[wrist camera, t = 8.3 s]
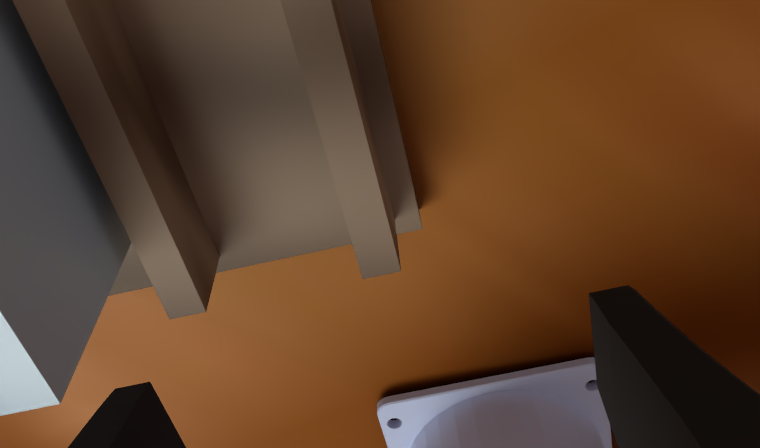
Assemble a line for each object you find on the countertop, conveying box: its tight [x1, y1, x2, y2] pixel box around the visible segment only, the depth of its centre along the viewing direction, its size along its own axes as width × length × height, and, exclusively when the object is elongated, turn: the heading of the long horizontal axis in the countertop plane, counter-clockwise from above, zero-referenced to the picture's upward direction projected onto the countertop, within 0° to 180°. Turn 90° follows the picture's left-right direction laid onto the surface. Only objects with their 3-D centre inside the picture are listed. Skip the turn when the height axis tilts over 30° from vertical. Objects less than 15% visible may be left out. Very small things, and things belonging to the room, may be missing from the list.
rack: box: [12, 0, 422, 319], centre depth 18 cm, size 12×18×4 cm, turn 103°
